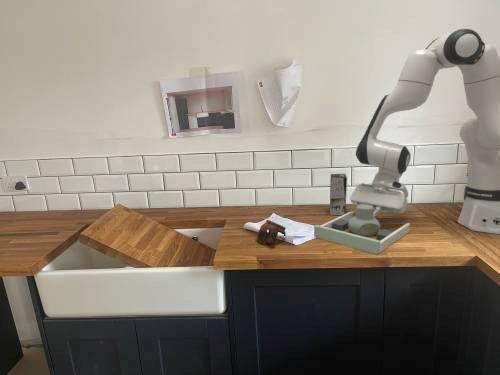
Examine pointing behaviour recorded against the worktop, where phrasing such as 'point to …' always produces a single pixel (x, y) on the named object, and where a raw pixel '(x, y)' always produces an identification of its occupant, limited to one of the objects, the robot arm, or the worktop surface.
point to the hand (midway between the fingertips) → (370, 217)
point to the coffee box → (338, 194)
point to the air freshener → (364, 221)
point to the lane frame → (357, 236)
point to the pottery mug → (272, 233)
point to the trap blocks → (343, 225)
